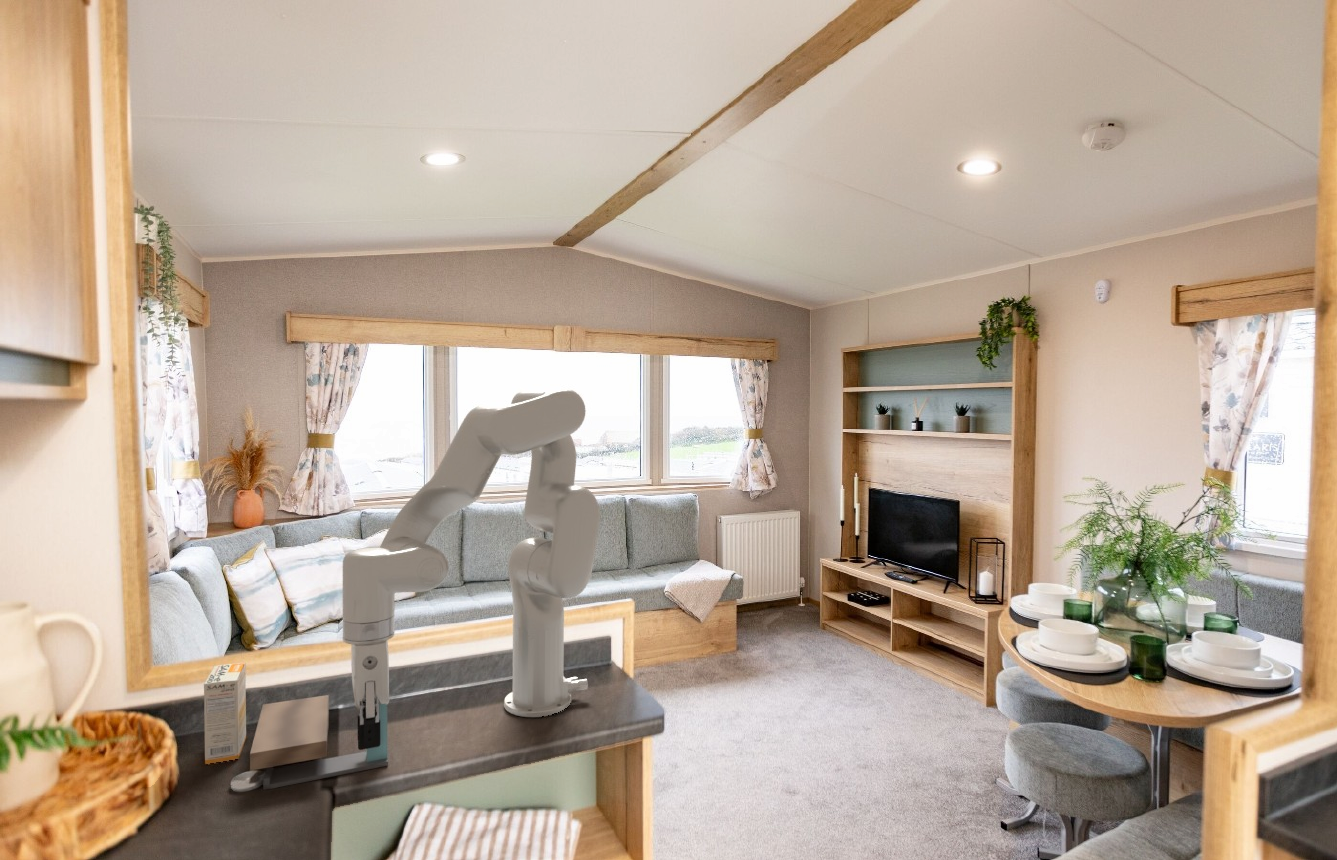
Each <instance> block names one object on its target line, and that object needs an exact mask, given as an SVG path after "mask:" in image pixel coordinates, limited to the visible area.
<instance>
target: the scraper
mask: <svg viewBox="0 0 1337 860" xmlns="http://www.w3.org/2000/svg"><path fill="white" fill-rule="evenodd" d="M374 701H376V700H374ZM379 720H380V746H379V747H374V748H368V749H365V751H359V752H355V753H354V752H353V753H350V754H344V755H339V756H333V757H326V758H321V759H318V760H317V759H316V760H312V761H311V760H310V761H307V762H306V761H305V762H302V763H297V764H295V763H294V764H291V765H285V766H281V767H279V766H278V767H274V766H273V767H274V768H273V767H267V768H264V778H263V785H262V786H263V788H262V789H263V791H265V790H270V789H275V788H279V787H285V786H290V785H296V784H301V783H306V782H310V781H315V780H316V781H317V780H322V779H326V778H332V777H336V776H337V777H338V776H342V775H347V774H351V773H352V774H353V773H357V772H362V771H367V770H372V769H377V768H378V769H379V768H382V767H387V766H389V758H388V753H389V751H388V747H389V746H388V704H387V705H385V704H381V703H380V701H379Z"/></svg>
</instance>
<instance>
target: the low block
mask: <svg viewBox="0 0 1337 860" xmlns="http://www.w3.org/2000/svg"><path fill="white" fill-rule="evenodd" d="M329 696H330V694H328V695H327V694H326V695H319V696H313V697H312V696H311V697H306V698H298V699H291V700H285V701H278V702H270V703H263V704H262V707H261V710H260V714H259V718H258V721H257V726H256V729H255V733H254V737H253V741H252V745H251V748H250V753H249V771H255V770H261V769H265V768H267V767H279V766H283V765H289V764H295V763H300V762H306V761H307V762H308V761H311V760H312V761H313V760H317V759H318V760H319V759H325V758H328V756H327V755H328V752H327V751H328V748H327V747H328V735H329V734H328V733H329V726H330V724H329V723H330V721H329V717H330V715H329V714H330V712H329V709H330V708H329V702H330V701H329V698H330V697H329Z"/></svg>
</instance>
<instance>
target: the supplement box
mask: <svg viewBox="0 0 1337 860" xmlns="http://www.w3.org/2000/svg"><path fill="white" fill-rule="evenodd" d="M246 667H247V666H246V662H240V663H239V662H238V663H228V664H219V665H215V666H213V667H212V669H211V671H210V673H209V674H208V676H207V678H206V680H205V681H204V684H203V697H204V698H203V700H204V701H203V703H204V704H203V705H204V708H203V709H204V711H203V713H204V715H203V716H204V764H205V765H206V764H208V765H211V764H210V763H214V764H217V763H216V762H221V763H224V762H223V761H227V762H230V761H229V760H233V761H236V760H235V759H238V760H239V759H240V756H241V754H242V751H243V748H244V744H245V741H246V739H247V716H246V715H247V713H246V711H247V709H246V708H247V705H246V703H247V702H246V701H247V698H246V696H247V695H246V694H247V693H246V692H247V691H246V690H247V689H246V686H247V685H246V680H247V679H246V678H247V677H246V673H247V671H246V669H247V668H246Z"/></svg>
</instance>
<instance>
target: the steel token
mask: <svg viewBox="0 0 1337 860" xmlns="http://www.w3.org/2000/svg"><path fill="white" fill-rule="evenodd" d="M264 773H265V771H262V770H259V769H256V770H249V771H245V772H244V771H243V772H242V773H239V774H237V775H235V776H234V777H233V778H232V779H231V781H230V789H232V790H233V792H234V793H235V792H236V793H243V792H244V793H245V792H250V791H252V790H255V789H258V788H260V787H262V786H263V778H264ZM232 790H231V791H232Z"/></svg>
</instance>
